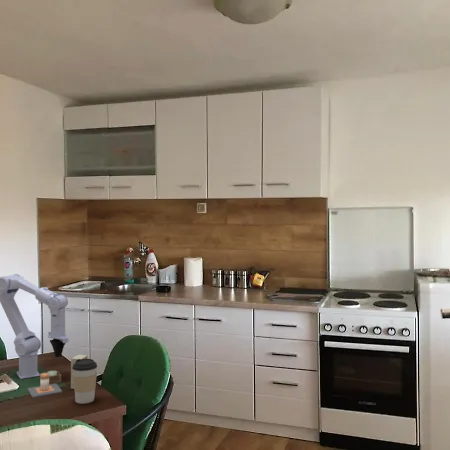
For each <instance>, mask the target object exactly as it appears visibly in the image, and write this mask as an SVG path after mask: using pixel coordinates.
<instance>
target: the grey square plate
mask: <svg viewBox="0 0 450 450" xmlns="http://www.w3.org/2000/svg"><path fill="white" fill-rule="evenodd" d="M27 391H28V393H29V395H30V396H31V397H32V399H35V398H40V397H45V396H50V395H56V394H62V393H63V390H62V388H61V387H60V386H59V385H58V383H54V384H49V389H48V390H44V391H42V390H40V385H39V386H33V387H27Z"/></svg>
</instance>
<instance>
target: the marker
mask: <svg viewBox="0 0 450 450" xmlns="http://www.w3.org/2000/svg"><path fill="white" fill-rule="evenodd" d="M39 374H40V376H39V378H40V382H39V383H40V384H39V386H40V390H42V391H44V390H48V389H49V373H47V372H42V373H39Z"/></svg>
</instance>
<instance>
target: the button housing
mask: <svg viewBox="0 0 450 450" xmlns="http://www.w3.org/2000/svg"><path fill="white" fill-rule="evenodd" d="M56 371H57V375H55V376H49V384H55V383H56V384H60V383H62V374H61V373H60V372H59V370H56Z"/></svg>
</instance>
